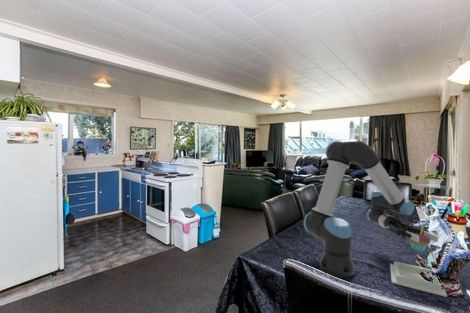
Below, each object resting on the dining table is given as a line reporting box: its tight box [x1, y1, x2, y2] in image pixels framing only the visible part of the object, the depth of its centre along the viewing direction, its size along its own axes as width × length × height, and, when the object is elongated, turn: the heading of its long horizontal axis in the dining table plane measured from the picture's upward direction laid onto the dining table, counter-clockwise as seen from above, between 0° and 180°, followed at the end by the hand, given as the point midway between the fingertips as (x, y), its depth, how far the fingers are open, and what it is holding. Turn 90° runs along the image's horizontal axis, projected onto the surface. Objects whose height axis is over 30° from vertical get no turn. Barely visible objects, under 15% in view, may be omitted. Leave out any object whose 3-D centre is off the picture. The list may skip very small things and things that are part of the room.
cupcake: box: [406, 224, 431, 252], centre depth 108 cm, size 9×8×12 cm
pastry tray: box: [389, 261, 448, 298], centre depth 104 cm, size 18×18×3 cm
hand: (427, 239), depth 104 cm, fingers closed on cupcake, 8 cm apart
